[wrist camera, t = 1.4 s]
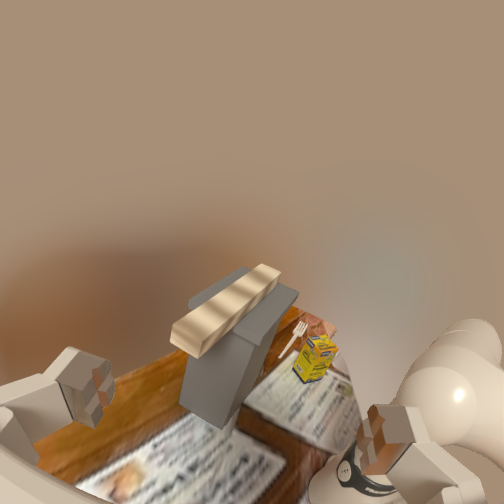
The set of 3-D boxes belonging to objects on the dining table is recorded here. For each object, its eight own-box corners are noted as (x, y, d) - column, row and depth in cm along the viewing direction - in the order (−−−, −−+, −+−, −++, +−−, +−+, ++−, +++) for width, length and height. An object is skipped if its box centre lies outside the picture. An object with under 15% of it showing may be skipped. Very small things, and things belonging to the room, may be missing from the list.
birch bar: (197, 360, 34) (202, 341, 33) (169, 343, 35) (173, 324, 34) (276, 286, 57) (281, 272, 56) (257, 277, 58) (261, 263, 57)
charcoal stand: (221, 438, 51) (262, 337, 42) (168, 406, 55) (189, 299, 45) (259, 387, 67) (299, 292, 57) (214, 362, 70) (242, 265, 61)
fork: (272, 357, 79) (275, 352, 79) (297, 324, 97) (299, 320, 96) (283, 363, 78) (286, 358, 78) (306, 329, 96) (309, 324, 95)
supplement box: (303, 384, 71) (321, 352, 67) (291, 368, 76) (307, 336, 72) (321, 380, 74) (339, 348, 70) (309, 365, 79) (325, 333, 75)
